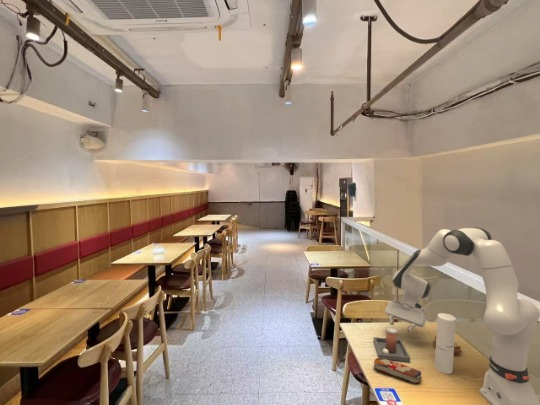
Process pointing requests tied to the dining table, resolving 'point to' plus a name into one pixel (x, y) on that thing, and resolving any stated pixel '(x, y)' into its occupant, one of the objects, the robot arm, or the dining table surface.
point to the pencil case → (398, 370)
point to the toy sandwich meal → (456, 347)
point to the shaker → (391, 339)
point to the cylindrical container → (445, 343)
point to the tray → (399, 356)
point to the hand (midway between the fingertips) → (399, 327)
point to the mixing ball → (385, 351)
